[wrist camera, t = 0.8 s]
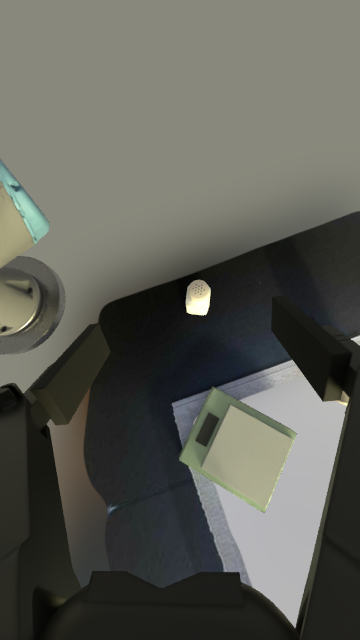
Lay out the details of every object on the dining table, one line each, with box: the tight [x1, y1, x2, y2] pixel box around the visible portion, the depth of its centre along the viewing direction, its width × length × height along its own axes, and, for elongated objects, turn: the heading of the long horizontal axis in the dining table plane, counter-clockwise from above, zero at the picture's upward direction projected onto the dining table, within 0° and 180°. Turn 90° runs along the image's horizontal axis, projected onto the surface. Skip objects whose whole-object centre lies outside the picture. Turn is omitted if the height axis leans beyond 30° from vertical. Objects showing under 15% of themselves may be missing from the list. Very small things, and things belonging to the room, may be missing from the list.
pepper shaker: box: [186, 280, 211, 315], centre depth 35 cm, size 4×4×10 cm
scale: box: [179, 386, 297, 513], centre depth 33 cm, size 15×13×3 cm
